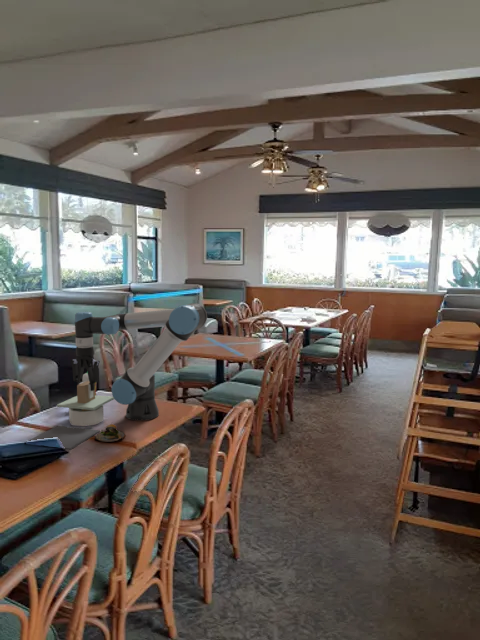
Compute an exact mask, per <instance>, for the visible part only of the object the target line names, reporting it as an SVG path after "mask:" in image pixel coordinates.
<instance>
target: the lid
mask: <svg viewBox="0 0 480 640" xmlns="http://www.w3.org/2000/svg"><path fill="white" fill-rule="evenodd" d="M89 383H90V382H89V381H86V382H84V383H81V384H79V385H78V384H77V385H76V396H73V397H71V398H68V399H67V400H65V401H62V402H60V403H57V404H56V407H57V408H65V409H66V408H67V409H69V408H75V409H86V410H94V409H96V408H98V407H100V406H104V405H105V404H108V403H110V402H111V401H113V400H115V399H114V397H113V396H109V395H97V394H96V395H95V390H94V391H93V397H92V398H89V393H88V384H89ZM94 385H95V384H94Z"/></svg>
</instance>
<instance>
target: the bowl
mask: <svg viewBox="0 0 480 640" xmlns="http://www.w3.org/2000/svg"><path fill="white" fill-rule="evenodd" d="M68 415H69V417H68V418H69V423H70V424H71V426H76V427H77V426H78V427H86V426H87V427H88V426H94V425H98V424H100V423H101V422H103V421H105V420H104V419H105V418H104V417H105V416H104V405H102V406H100V407H98V408H96V409H94V410H86V409H75V408H68Z"/></svg>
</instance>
